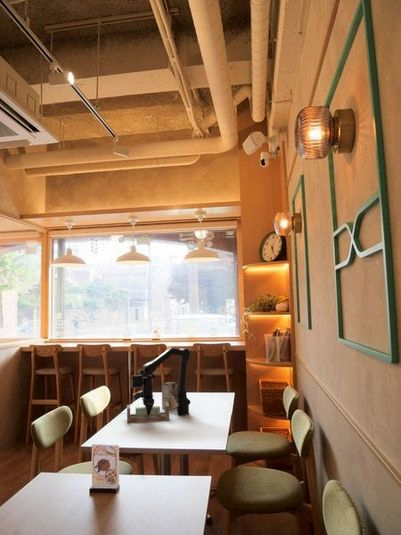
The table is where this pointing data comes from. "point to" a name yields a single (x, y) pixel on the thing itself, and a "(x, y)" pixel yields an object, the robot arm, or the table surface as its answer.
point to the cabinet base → (162, 417)
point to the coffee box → (169, 395)
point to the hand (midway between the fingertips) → (148, 413)
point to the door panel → (143, 412)
